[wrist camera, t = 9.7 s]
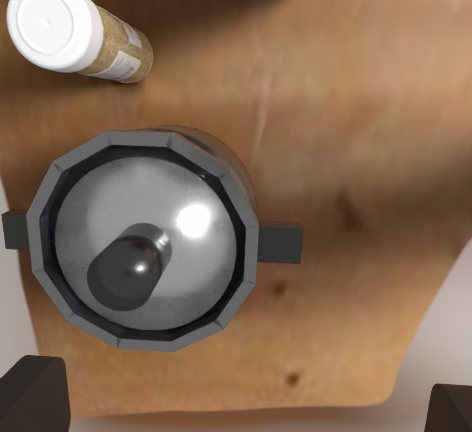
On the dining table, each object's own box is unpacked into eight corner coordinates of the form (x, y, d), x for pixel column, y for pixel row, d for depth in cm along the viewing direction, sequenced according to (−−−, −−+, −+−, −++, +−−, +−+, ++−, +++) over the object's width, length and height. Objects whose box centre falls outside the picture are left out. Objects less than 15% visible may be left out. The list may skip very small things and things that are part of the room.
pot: (296, 129, 34) (316, 139, 23) (284, 288, 38) (296, 359, 27) (56, 120, 35) (-34, 125, 24) (68, 276, 39) (-3, 341, 28)
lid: (244, 164, 25) (242, 181, 19) (229, 330, 28) (222, 387, 22) (59, 147, 25) (1, 158, 20) (64, 313, 28) (16, 366, 23)
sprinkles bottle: (151, 25, 32) (83, -31, 19) (156, 83, 34) (95, 68, 21) (97, 28, 33) (-6, -26, 20) (104, 85, 34) (10, 71, 21)
